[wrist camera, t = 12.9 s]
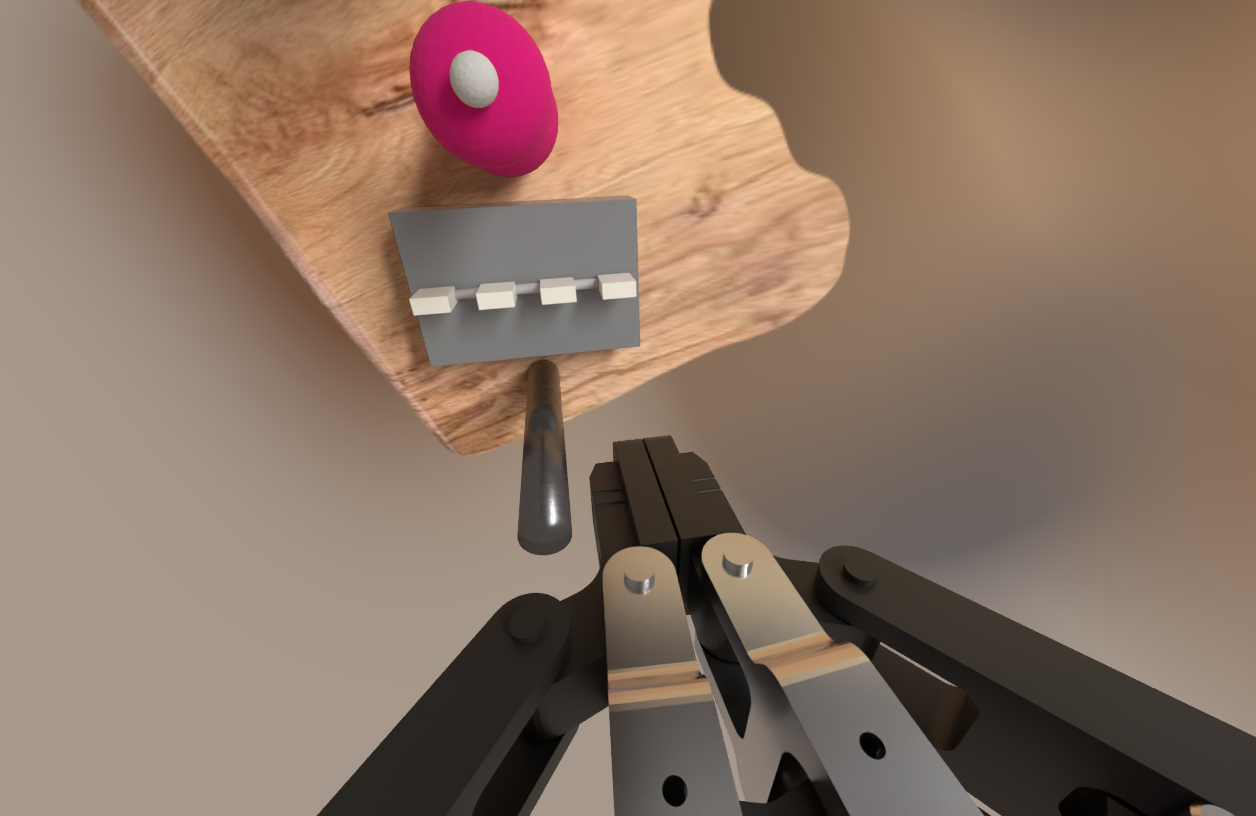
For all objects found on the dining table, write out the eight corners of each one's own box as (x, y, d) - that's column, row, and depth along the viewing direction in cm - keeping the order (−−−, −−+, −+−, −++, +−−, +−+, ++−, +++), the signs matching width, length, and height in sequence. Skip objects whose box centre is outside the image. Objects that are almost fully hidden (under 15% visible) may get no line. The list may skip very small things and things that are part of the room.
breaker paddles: (419, 288, 34) (409, 299, 31) (628, 272, 36) (636, 281, 33) (423, 303, 35) (413, 315, 32) (629, 286, 37) (636, 296, 34)
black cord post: (534, 355, 42) (527, 510, 24) (563, 365, 43) (580, 521, 25) (524, 382, 44) (510, 550, 25) (553, 391, 45) (561, 559, 26)
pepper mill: (477, 183, 35) (413, 203, 18) (442, 71, 31) (319, -43, 14) (566, 165, 35) (589, 167, 18) (542, 53, 32) (542, -79, 14)
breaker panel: (403, 207, 35) (388, 212, 31) (627, 195, 37) (636, 198, 34) (440, 349, 41) (431, 366, 37) (632, 331, 43) (640, 346, 40)
